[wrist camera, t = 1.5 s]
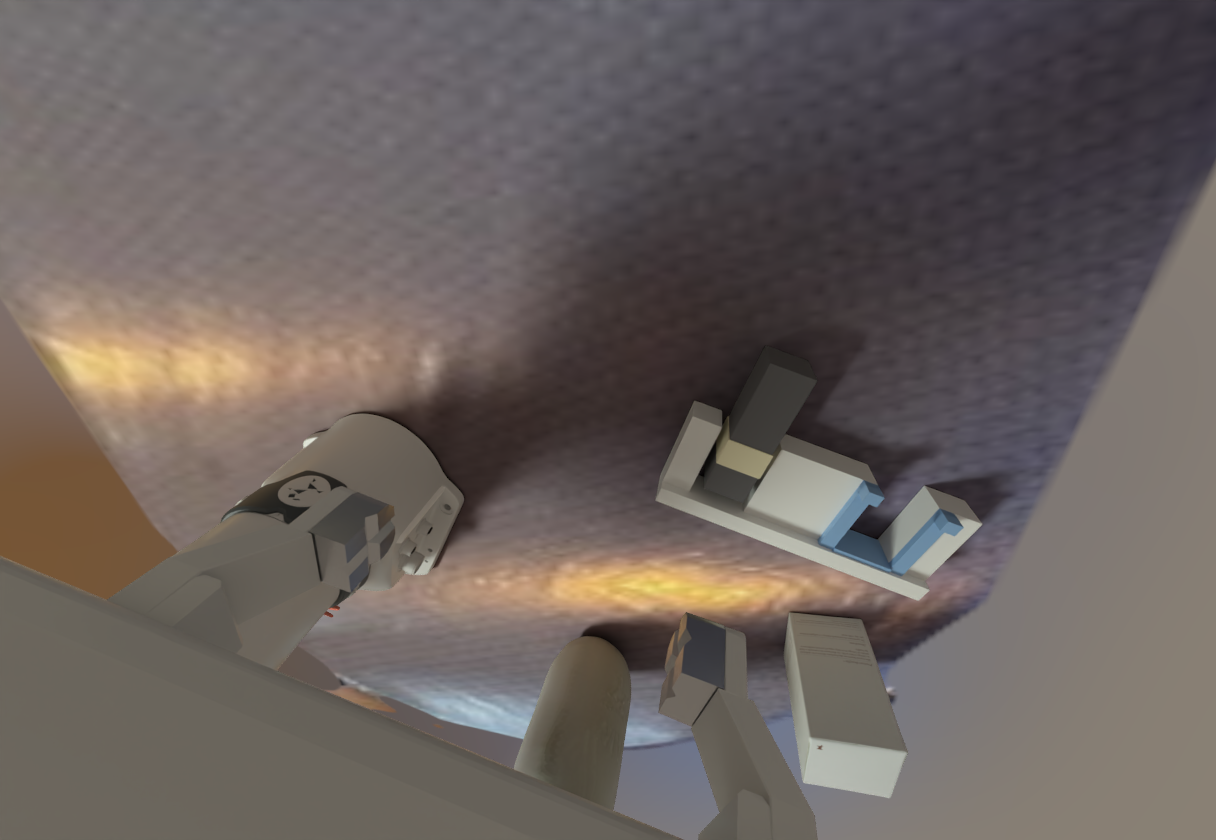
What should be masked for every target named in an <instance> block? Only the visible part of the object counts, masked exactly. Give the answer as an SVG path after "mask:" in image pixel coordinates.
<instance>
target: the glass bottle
mask: <svg viewBox="0 0 1216 840" xmlns="http://www.w3.org/2000/svg"><path fill="white" fill-rule="evenodd" d="M630 700H631V679H630V673H629V669H628V666H627V663H626V661H625V659H624V657H623V656H622V654H621V653H620V652H619V650H617V649H616V648H615V647H614V646H613V645H612V644H610V643H609V642H608V641H606V640H604V639H602V638H598V637H591V636H584V637H580V638H577V639H575V640H573V641H571V642H570V643H568V644H567V645H566V646H565V647H564V648H563V650H562V651H561V652H560V653H559V654H558V656H557V657H556V658H555V660H554V661H553V663H552V665H551V667H550V669H549V672H548V674H547V677H546V679H545V682H544V685H543V688H542V691H541V694H540V696H539V699H538V702H537V705H536V708H535V711H534V713H533V716H532V719H531V721H530V724H529V726H528V729H527V731H526V734H525V737H524V740H523V743H522V745H521V748H520V751H519V753H518V757H517V759H516V762H515V766H514V769H515V770H517V771H519V772H522V773H524V774H527V775H529V776H532V777H534V778H536V779H539V780H541V781H544V782H546V783H548V784H551V785H553V786H556V787H558V788H560V789H563V790H565V791H568V792H570V793H572V794H575V795H577V796H580V797H582V798H584V799H587V800H589V801H592V802H594V803H596V804H599V805H601V806H604V807H606V808H608V809H611V810H613V809H614V804H615V798H616V793H617V787H618V781H619V775H620V768H621V761H622V754H623V747H624V740H625V734H626V727H627V721H628V715H629V709H630Z"/></svg>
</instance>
